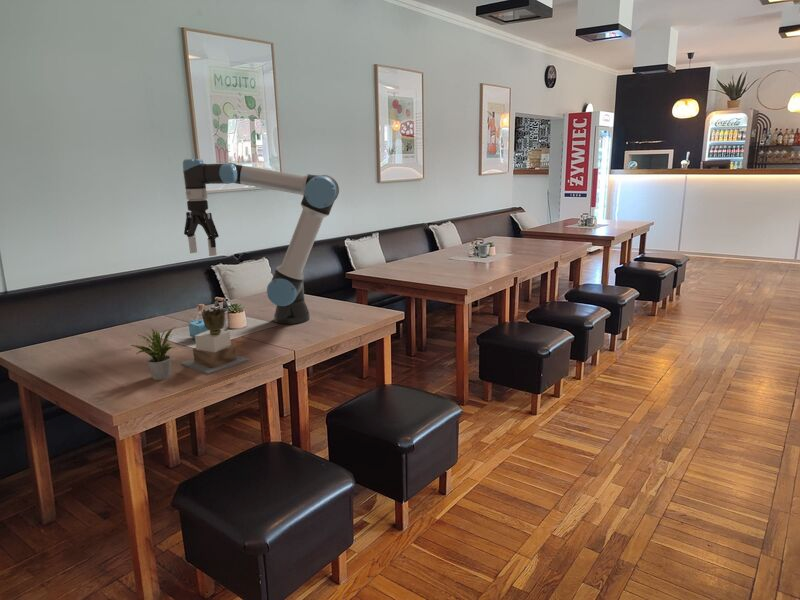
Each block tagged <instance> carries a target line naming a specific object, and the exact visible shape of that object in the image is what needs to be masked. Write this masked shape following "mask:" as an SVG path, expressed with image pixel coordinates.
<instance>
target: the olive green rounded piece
mask: <svg viewBox="0 0 800 600" xmlns="http://www.w3.org/2000/svg"><path fill="white" fill-rule="evenodd" d="M225 313H226V311H225V309H223V308H222V309H221V308H217V309H216V308H213V309H212V310H211V311H210V309H207V310H203V311H202V312H201V315H202V316H201V317H202V320H203V321H204V325H205V327H206V328H207V329H208V330H210V334H211V335H218V334H220V333H221V330H223V328H224V325H225V320H226V317H225V316H226V315H225Z"/></svg>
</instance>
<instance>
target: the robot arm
mask: <svg viewBox="0 0 800 600" xmlns="http://www.w3.org/2000/svg"><path fill="white" fill-rule="evenodd" d="M182 169H183V171H182V173H183V180H184V185H185V195H186V199H187V202H186V205H187V206H186V207H187V210H188V211H186V213H185V215H186V216H185V217H186V218H185V224H184V231H183V234H184V236H185V235H186V237H187V241H188V246H189V254H197V253H198V249H197V248H198V247H197V241H196V239H197V237H196V234H195V233H196V232H197V228H198V226H201V228H202V229H203V230H204V232H205V234H206V236H207V237H208V238H207V245H208V256H209V257H213V256H214V257H215V256H217V254H218V253H217V245H216V243H217V242H216V239H217V238H219V236H220V235H219V233H218V230H217V228H216V225H215V223H214V220H213V216H212V215H213V214H212V213H211V212H206V211H207V210H208V209H209V205H208V204H209V202H208V200H207V199H208V194H207V185H209V184H211V185H213V184H214V185H215V184H216V185H217V184H219V185H220V184H223V185H224V184H225V185H229V184H237V185H244V186H249V187H256V188H261V189H267V190H272V191H278V192H284V193H288V194H289V193H290V194H296V195H301V196H303V197H302V200H301V203H300V206H301V208H302V211H301V214H300V215H299V218H298V221H297V224H296V226H295V228H294V231H293V233H292V236H291V239H290V242H289V244H288V247H287V250H286V251H285V255H284V257H283V260H282V263H281V264H280V265H279V266H276V268H275V269H274V273H273V276H272V278H271V280H270V282H269V283H268V285H267V286H266V294H267V295H266V296H267V298H268V299H269V301H270V302H271V303H272V304H274V305H275V306H276V307H275V312H274V316H273V318H274V319H273V320H274V322H275V323H277V324H282V325H294V324H295V325H296V324H300V323H305V322H308V321H309V320H310V319H311V317H310V311H309V309H308V306H307V304H306V301H305V287H304V279H305V277H304V273H303V270H304V269H305V266H306V263H307V261H308V258H309V256H310V254H311V253H310V252H311V250H312V248H313V246H314V243H315V241H316V238H317V235H318V233H319V231H320V227H321V225H322V223H323V220H324V219H325V218H326V217H329V216H330V213H331V211H332V208H333V206H334V204H335V201H336V200H337V198H338V196H339V193H340V188H339V185H338V182H337V181H336V180H335V179H334V177H332V176H330V175H327V174H322V175H320V174H318V175H317V174H306V175H300V174H296V173H295V174H293V173H288V172H282V171H277V170H272V169H271V170H270V169H265V168H259V167H252V166H248V165H247V166H246V165H241V164H236V163H233V162H225V163H204V160H203V159H202V158H189V159H187V158H185V159H184V160H183V161H182Z"/></svg>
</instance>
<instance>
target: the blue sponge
mask: <svg viewBox="0 0 800 600" xmlns="http://www.w3.org/2000/svg"><path fill="white" fill-rule="evenodd" d="M188 329H189V331H188V332H189V336H190V338H193V340H195V335H197V334H200V333H203V332H205V331H208V329H207V328H206V327H205V325H204V321H203V319H198V320H194V319H193V318H192V319H190V322H188Z"/></svg>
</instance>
